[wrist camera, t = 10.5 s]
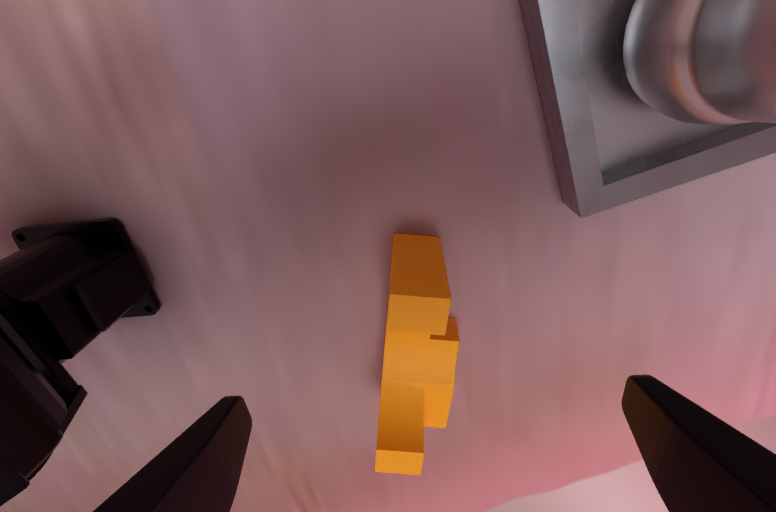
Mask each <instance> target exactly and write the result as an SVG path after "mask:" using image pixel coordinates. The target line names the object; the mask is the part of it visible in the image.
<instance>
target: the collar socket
mask: <svg viewBox="0 0 776 512" xmlns="http://www.w3.org/2000/svg"><path fill="white" fill-rule="evenodd" d="M635 1H636V0H519V2H520V6H521V11H522V16H523V20H524V25H525V30H526V34H527V39H528V43H529V48H530V53H531V57H532V62H533V67H534V71H535V76H536V80H537V85H538V90H539V94H540V99H541V104H542V108H543V113H544V117H545V122H546V127H547V131H548V136H549V141H550V145H551V150H552V154H553V159H554V164H555V168H556V173H557V178H558V182H559V187H560V191H561V196H562V201H563V203H564V204H566V205H567V206H568V207H569V208H570V209H571V210H572V211H574V212H575V213H576V214H577V215H578V216H579V217H580V218H582V217H585V216H588V215H591V214H594V213H597V212H600V211H603V210H606V209H609V208H612V207H615V206H618V205H621V204H624V203H627V202H630V201H633V200H636V199H639V198H642V197H645V196H648V195H651V194H654V193H657V192H660V191H663V190H666V189H668V188H671V187H674V186H677V185H680V184H683V183H686V182H689V181H692V180H695V179H698V178H701V177H704V176H707V175H710V174H713V173H716V172H719V171H722V170H725V169H728V168H731V167H734V166H737V165H740V164H743V163H746V162H749V161H752V160H755V159H758V158H761V157H764V156H767V155H770V154H773V153H776V123H765V122H751V123H739V124H727V125H716V124H694V123H686V122H680V121H678V120H675V119H672V118H670V117H667V116H666V115H664V114H662V113H660V112H659V111H657V110H655V109H654V108H652V107H650V106H649V105H648V104H646V103H645V102H643V101H642V100H641V99H640V98H639V97H638V95H637V94H636V93H635V92H634V91H633V89H632V87H631V85H630V83H629V81H628V79H627V76H626V71H625V67H624V62H623V42H624V36H625V30H626V25H627V22H628V19H629V16H630V13H631V10H632V7H633V5H634V3H635Z"/></svg>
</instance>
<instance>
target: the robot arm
mask: <svg viewBox="0 0 776 512" xmlns="http://www.w3.org/2000/svg"><path fill="white" fill-rule="evenodd" d="M109 225H110V226H111V227H112V228H113V230H112V229H111V228H110V226H109ZM12 237H13V239H14V241H15V242H16V244H17V245H18V247H19V248H20V251H18V252H16V253H14V254H12V255H10V256H8V257H5V258H3V259H1V260H0V506H1V505H3V504H4V503H6V502H7V501H9V500H10V499H11V498H13V497H14V496H16V495H17V494H19V493H20V492H22V491H23V490H24V489H26V488H27V487H28V485H29V484H30V482H29V481H30V480H31V479H32V478H33V477H34V476H35V475H36V474H37V473H38V472H39V471H40V469H41V468H42V467H43V466H44V465H45V463H46V462H47V460H48V459H49V458H50V456H51V454H52V453H53V451H54V449H55V448H56V447H57V446H58V444H59V443H60V441H61V439H62V437H63V434H64V432H65V431H66V429H67V427H68V426H69V424H70V422H71V420H72V419H73V417H74V415H75V414H76V412H77V410H78V409H79V407H80V405H81V404H82V402H83V400H84V399H85V397H86V395H87V391H86V390H85V389H84V388H83V387H82V385H78V384H77V383H76V381H75V380H74V379H73V378H72V376H71V375H70V374H69V373H68V371H67V370H66V369H65V368H64V367H63V365H62V363H63V362H64V361H66V360H67V359H71V358H73V357H74V356H75V355H76V354H78V353H79V352H80V351H81V350H82V349H83V348H84V347H85V346H87V345H88V344H89V343H90V342H91V341H92V340H93V339H95V338H96V337H97V336H98V335H99V334H100V333H101V332H104V331H106V330H107V329H108V328H109V327H110V326H111V325H112V324H114V323H115V322H116V321H117V320H118V319H119V318H122V317H135V316H148V315H154V314H155V313H157V312H158V311H159V310H160V304H159V302H158V300H157V298H156V296H155V294H154V292H153V290H152V287H151V285H150V283H149V281H148V279H147V277H146V275H145V273H144V271H143V269H142V267H141V264H140V262H139V260H138V258H137V256H136V254H135V252H134V250H133V248H132V246H131V244H130V241H129V239H128V237H127V235H126V233H125V231H124V229H123V227H122V225H121V224H120V222H119V221H117V220H115V219H113V218H108V219H98V220H88V221H78V222H68V223H58V224H48V225H38V226H28V227H21V228H19V229H16V230H14V231H13V232H12ZM149 306H150V307H149ZM151 307H152V308H151ZM622 409H623V412H624V415H625V417H626V419H627V422H628V424H629V427H630V429H631V431H632V434H633V436H634V438H635V441H636V443H637V445H638V448H639V450H640V453H641V455H642V457H643V460H644V462H645V464H646V467H647V469H648V471H649V474H650V476H651V478H652V480H653V482H654V484H655V486H656V488H657V490H658V492H659V494H660V496H661V498H662V500H663V501H664V503H665V505H666V507H667V509H668V511H669V512H776V454H774V453H773V452H771V451H770V450H768V449H766V448H765V447H763V446H762V445H760V444H758V443H757V442H755V441H754V440H752V439H751V438H749V437H747V436H746V435H744V434H743V433H741V432H740V431H738V430H736V429H735V428H733V427H732V426H730V425H729V424H727V423H725V422H724V421H722V420H721V419H719V418H717V417H716V416H714V415H713V414H711V413H710V412H708V411H706V410H705V409H703V408H702V407H700V406H698V405H697V404H695V403H694V402H692V401H691V400H689V399H687V398H686V397H684V396H683V395H681V394H680V393H678V392H676V391H675V390H673V389H672V388H670V387H668V386H667V385H665V384H664V383H662V382H661V381H659V380H657V379H656V378H654V377H652V376H650V375H631V376H629V377H628V378H627V381H626V385H625V389H624V393H623V397H622ZM251 428H252V419H251V416H250V413H249V411H248V408H247V406H246V403H245V401H244V399H243V397H241V396H226V397H224V398H222V399H221V400H220V401H218V402H217V403H216V404H215V405H214V406H213V407H212V408H210V409H209V410H208V411H207V412H206V413H205V414H204V415H202V416H201V417H200V418H199V419H198V420H197V421H196V422H194V423H193V424H192V425H191V426H190V427H189V428H188V429H186V430H185V431H184V432H183V433H182V434H181V435H180V436H178V437H177V438H176V439H175V440H174V441H173V442H172V443H171V444H169V445H168V446H167V447H166V448H165V449H164V450H163V451H161V452H160V453H159V454H158V455H157V456H156V457H155V458H153V459H152V460H151V461H150V462H149V463H148V464H147V465H145V466H144V467H143V468H142V469H141V470H140V471H139V472H137V473H136V474H135V475H134V476H133V477H132V478H131V479H129V480H128V481H127V482H126V483H125V484H124V485H123V486H121V487H120V488H119V489H118V490H117V491H116V492H115V493H113V494H112V495H111V496H110V497H109V498H108V499H107V500H105V501H104V502H103V503H102V504H101V505H100V506H99V507H97V508H96V509H95V510H94V511H93V512H230V509H231V506H232V503H233V500H234V497H235V494H236V490H237V487H238V483H239V479H240V475H241V470H242V466H243V462H244V458H245V454H246V449H247V445H248V441H249V437H250V433H251Z"/></svg>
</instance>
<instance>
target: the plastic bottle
mask: <svg viewBox="0 0 776 512" xmlns="http://www.w3.org/2000/svg"><path fill="white" fill-rule="evenodd" d="M623 62H624V67H625V71H626V76H627V79H628V81H629V83H630V85H631V87H632V89H633V91H634V92H635V93H636V94H637V95H638V97H639V98H640V99H641V100H642V101H643V102H645V103H646V104H648V105H649V106H650V107H652V108H654V109H655V110H657V111H659V112H660V113H662V114H664V115H666V116H667V117H670V118H672V119H675V120H678V121H680V122H686V123H694V124H716V125H727V124H739V123H751V122H765V123H776V0H636V1H635V3H634V5H633V7H632V10H631V13H630V16H629V19H628V22H627V25H626V30H625V36H624V42H623Z"/></svg>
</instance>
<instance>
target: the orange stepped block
mask: <svg viewBox="0 0 776 512" xmlns="http://www.w3.org/2000/svg"><path fill="white" fill-rule="evenodd" d="M450 305H451V294H450V289H449V284H448V279H447V274H446V269H445V264H444V259H443V254H442V249H441V244H440V239H439V237H433V236H420V235H408V234H395V233H394V236H393V248H392V261H391V273H390V285H389V297H388V309H387V321H386V333H385V345H384V357H383V369H382V382H381V395H380V408H379V422H378V436H377V449H376V463H375V472H386V473H399V474H411V475H420V474H421V469H422V463H423V457H424V426H425V427H438V428H446V424H447V419H448V414H449V410H450V405H451V400H452V395H453V390H454V378H455V367H456V359H457V353H458V348H459V343H460V340H459V335H458V330H457V325H456V320H455V318H448V316H449V310H450Z"/></svg>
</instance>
